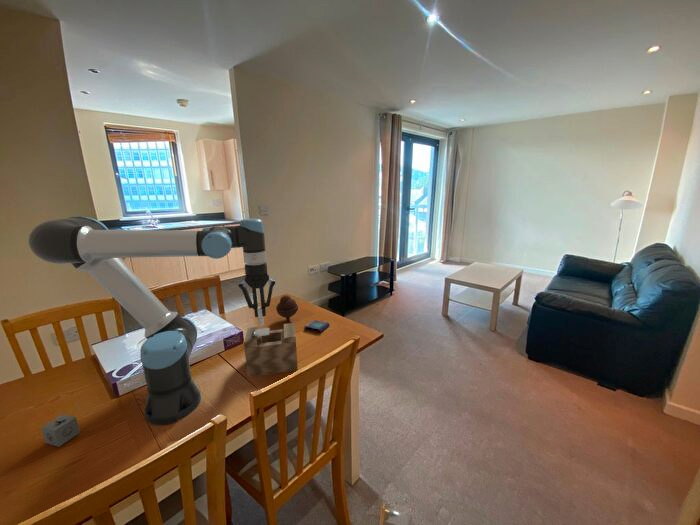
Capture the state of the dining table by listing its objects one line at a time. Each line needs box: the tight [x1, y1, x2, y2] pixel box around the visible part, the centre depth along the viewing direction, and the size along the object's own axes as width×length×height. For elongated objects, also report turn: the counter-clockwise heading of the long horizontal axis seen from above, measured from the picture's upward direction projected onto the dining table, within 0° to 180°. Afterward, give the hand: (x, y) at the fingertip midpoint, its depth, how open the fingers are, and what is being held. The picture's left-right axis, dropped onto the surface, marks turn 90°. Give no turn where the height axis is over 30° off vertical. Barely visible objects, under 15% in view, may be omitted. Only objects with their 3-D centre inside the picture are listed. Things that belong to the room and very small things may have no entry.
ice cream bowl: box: [275, 294, 299, 323], centre depth 148 cm, size 11×11×15 cm
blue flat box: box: [303, 319, 330, 334], centre depth 143 cm, size 9×3×11 cm
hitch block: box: [243, 322, 299, 378], centre depth 113 cm, size 18×12×14 cm, turn 103°
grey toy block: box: [40, 413, 81, 448], centre depth 81 cm, size 5×5×5 cm
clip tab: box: [252, 327, 271, 337], centre depth 110 cm, size 6×5×1 cm
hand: (261, 324), depth 110 cm, fingers closed
